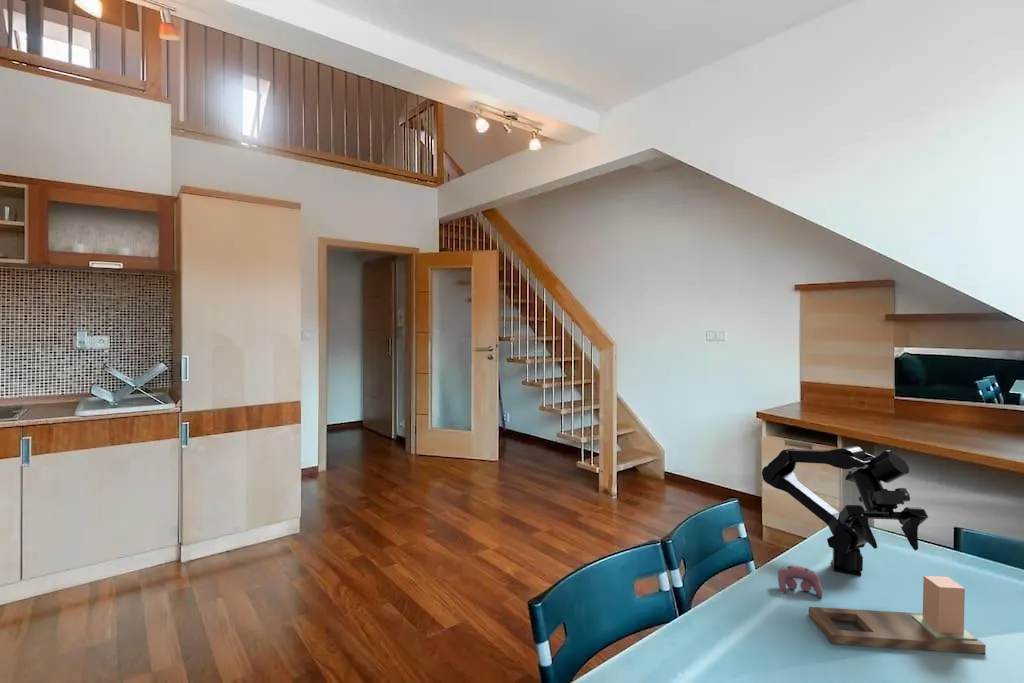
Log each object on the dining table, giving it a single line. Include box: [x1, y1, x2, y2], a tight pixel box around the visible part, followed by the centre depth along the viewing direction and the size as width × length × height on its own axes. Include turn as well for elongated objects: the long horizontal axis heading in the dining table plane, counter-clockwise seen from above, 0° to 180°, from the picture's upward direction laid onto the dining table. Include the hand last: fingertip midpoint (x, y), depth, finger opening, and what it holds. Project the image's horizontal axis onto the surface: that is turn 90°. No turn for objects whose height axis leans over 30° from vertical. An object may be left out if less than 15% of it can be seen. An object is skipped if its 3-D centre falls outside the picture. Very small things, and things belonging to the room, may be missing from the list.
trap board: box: [808, 606, 986, 654], centre depth 113 cm, size 30×11×2 cm, turn 83°
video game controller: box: [777, 565, 823, 599], centre depth 131 cm, size 10×5×7 cm, turn 72°
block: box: [922, 575, 966, 634], centre depth 111 cm, size 5×5×10 cm
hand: (896, 548), depth 125 cm, fingers open, 9 cm apart
